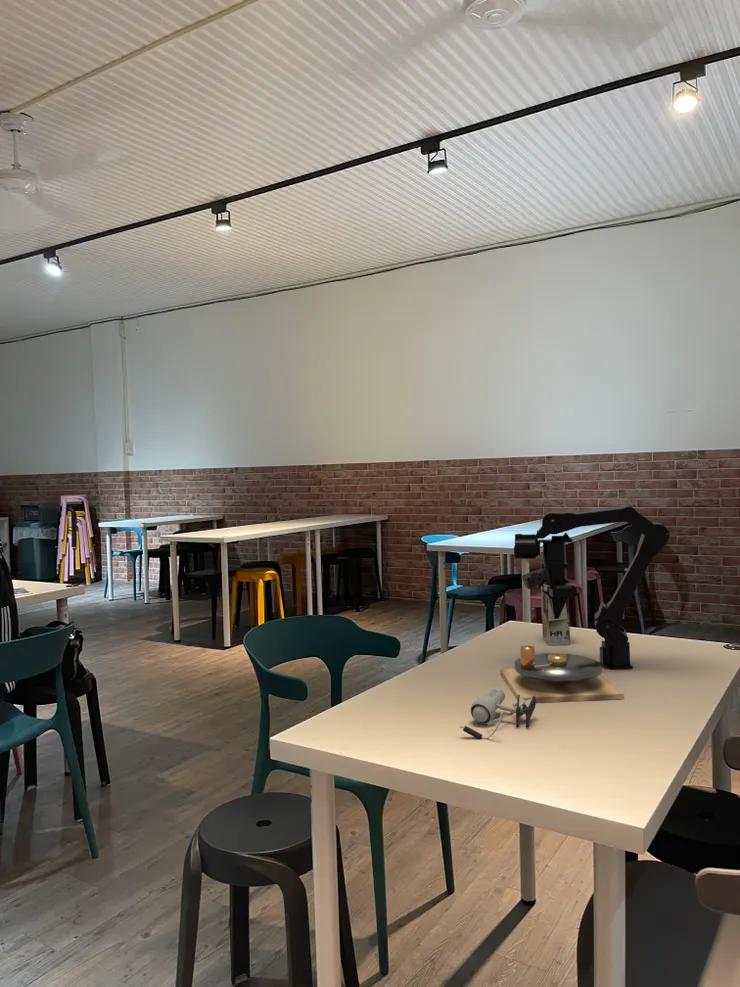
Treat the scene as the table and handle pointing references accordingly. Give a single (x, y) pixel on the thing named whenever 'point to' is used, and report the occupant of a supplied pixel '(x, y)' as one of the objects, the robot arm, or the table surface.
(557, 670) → the handwheel
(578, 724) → the table surface
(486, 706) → the clip-on lamp
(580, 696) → the board
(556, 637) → the coffee box
